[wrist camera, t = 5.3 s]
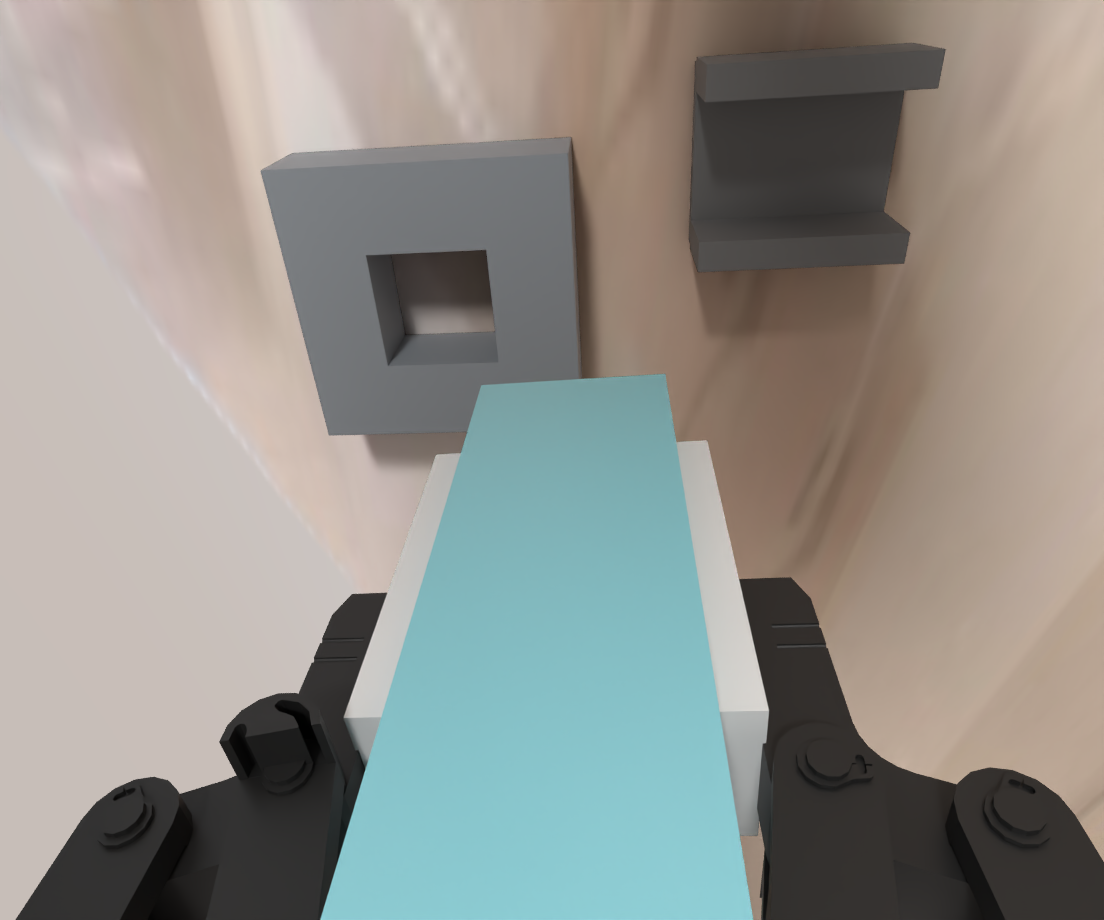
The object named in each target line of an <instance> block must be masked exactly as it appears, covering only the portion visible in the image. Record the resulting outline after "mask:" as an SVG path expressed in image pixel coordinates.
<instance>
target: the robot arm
mask: <svg viewBox="0 0 1104 920" xmlns="http://www.w3.org/2000/svg"><path fill="white" fill-rule="evenodd" d="M676 444H677V450H678V456H679V463H680V469H681V475H682V481H683V487H684V494H685V500H686V506H687V512H688V518H689V525H690V531H691V537H692V543H693V549H694V556H695V562H696V568H697V574H698V580H699V587H700V593H701V599H702V605H703V611H704V618H705V624H706V630H707V636H708V642H709V649H710V655H711V661H712V667H713V673H714V680H715V686H716V692H717V698H718V704H719V711H720V717H721V723H722V729H723V735H724V742H725V748H726V754H727V760H728V766H729V773H730V779H731V785H732V791H733V797H734V804H735V810H736V816H737V822H738V828H739V835H740V836H758V828H759V821H760V826H761V831H762V837H763V842H764V847H765V851H764V861H763V871H762V881H761V891H760V898H762V913H761V920H1104V862H1103V860H1102V858H1101V857H1100V855H1099V853H1098V852H1097V850H1096V849H1095V847H1094V845H1093V844H1092V842H1091V840H1090V839H1089V837H1088V835H1087V834H1086V832H1085V831H1084V829H1083V827H1082V826H1081V824H1080V822H1079V821H1078V819H1077V817H1076V816H1075V814H1074V813H1073V812H1072V811H1071V810H1070V808H1069V807H1068V806H1067V805H1066V804H1065V802H1064V801H1063V800H1062V799H1061V798H1060V797H1059V795H1057V794H1056V793H1054V792H1053V791H1052V790H1050V789H1049V788H1047V787H1046V786H1045V785H1043V784H1042V783H1040V782H1039V781H1038V780H1036V779H1033V778H1031V777H1028V776H1026V775H1023V774H1021V773H1018V772H1016V771H1013V770H1006V769H998V768H986V769H981V770H977V771H973V772H970V773H969V774H968V775H967V776H965V777H964V778H963V779H962V780H961V781H960V782H959V783H958V784H953V783H949V782H946V781H942V780H938V779H935V778H931V777H927V776H924V775H920V774H916V773H913V772H910V771H908V770H905V769H902V768H899V767H897V766H895V765H894V764H892V763H890V762H888V761H887V760H885V759H883V758H881V757H880V756H879V755H878V754H877V753H875V752H874V751H873V750H872V749H871V748H869V747H868V745H867V744H866V743H865V742H864V741H863V739H862V738H861V737H860V736H859V734H858V732H857V730H856V728H855V726H854V724H853V722H852V719H851V716H850V713H849V710H848V707H847V704H846V701H845V698H844V695H843V692H842V689H841V687H840V684H839V681H838V678H837V675H836V672H835V669H834V666H833V663H832V660H831V657H830V654H829V651H828V648H826V642H825V639H824V636H823V633H822V630H821V628H819V621H818V619H817V616H816V613H815V610H814V607H813V604H812V601H811V598H810V597H809V596H808V595H807V594H806V593H805V592H804V591H803V590H802V589H801V588H800V587H799V586H798V585H797V583H796V582H795V581H794V580H793V579H792V578H791V577H790V578H760V579H739V577H738V573H737V569H736V564H735V560H734V555H733V551H732V547H731V542H730V538H729V534H728V529H727V525H726V520H725V516H724V512H723V507H722V503H721V499H720V494H719V490H718V485H717V481H716V477H715V472H714V468H713V464H712V459H711V455H710V450H709V446H708V442H707V440H703V441H684V442H676ZM460 454H461V453H454V454H436V456H435V459H434V462H433V465H432V468H431V471H430V473H429V476H428V479H427V482H426V485H425V488H424V490H423V493H422V496H421V499H420V502H419V505H418V507H417V510H416V513H415V516H414V519H413V522H412V524H411V527H410V530H409V533H408V536H407V539H406V542H405V544H404V547H403V550H402V553H401V556H400V559H399V561H398V564H397V567H396V570H395V573H394V576H393V578H392V581H391V584H390V587H389V590H388V593H369V594H352V595H351V596H350V597H349V598H348V599H347V600H346V601H345V602H344V603H343V605H341V606H340V607H339V609H338V610H337V611H336V612H335V613H334V614H333V615H332V617H331V619H330V621H329V624H328V626H327V629H326V631H325V633H324V635H323V638H322V643H320V645H319V647H318V650H317V652H316V655H315V657H314V663H312V664H311V666H310V668H309V671H308V673H307V675H306V678H305V680H304V683H303V685H302V687H301V689H300V692H299V694H297V693H283V694H282V693H281V694H275V695H272V696H269V697H266V698H264V699H260V700H258V701H256V702H255V703H253V704H252V705H250V706H248V707H247V708H245V709H244V710H242V711H241V712H240V713H239V714H238V715H237V716H236V717H235V718H234V719H233V720H232V721H231V722H230V723H229V724H228V725H227V727H226V729H225V732H224V734H223V735H222V737H221V740H220V744H221V746H222V748H223V750H224V752H225V754H226V756H227V758H228V760H229V761H230V763H231V765H232V767H233V769H234V771H235V773H236V775H237V776H234V777H232V778H229V779H227V780H224V781H221V782H218V783H215V784H211V785H208V786H205V787H201V788H199V789H195V790H192V791H188V792H185V793H182V794H179V792H178V791H177V789H176V788H175V787H174V786H173V785H172V784H171V783H170V782H169V781H168V780H164V779H160V778H156V777H150V778H143V779H136V780H133V781H131V782H129V783H126V784H124V785H122V786H120V787H118V788H115V789H114V790H112V791H111V792H110V793H108V794H107V795H106V796H104V797H103V798H102V799H100V800H99V801H98V802H96V804H95V805H94V806H93V807H92V808H91V809H90V811H89V812H88V813H87V814H86V815H85V816H84V817H83V819H82V820H81V821H80V823H79V824H78V826H77V828H76V829H75V830H74V832H73V833H72V835H71V836H70V838H69V839H68V841H67V843H66V844H65V846H64V847H63V849H62V850H61V852H60V853H59V855H58V856H57V858H56V859H55V861H54V862H53V864H52V865H51V867H50V868H49V870H48V871H47V873H46V874H45V876H44V877H43V879H42V880H41V882H40V884H39V885H38V887H37V888H36V890H35V891H34V893H33V894H32V896H31V897H30V899H29V900H28V902H27V903H26V905H25V907H24V908H23V910H22V911H21V912H20V914H19V915H18V917H17V918H16V920H320V919H321V916H322V913H323V909H324V906H325V903H326V899H327V896H328V893H329V889H330V886H331V883H332V879H333V876H334V873H335V869H336V866H337V863H338V859H339V856H340V853H341V849H342V846H343V843H344V839H345V836H346V833H347V830H348V826H349V823H350V820H351V816H352V813H353V810H354V806H355V803H356V800H357V796H358V793H359V790H360V786H361V783H362V780H363V776H364V773H365V770H366V766H367V763H368V760H369V756H370V753H371V750H372V746H373V743H374V740H375V737H376V733H377V730H378V727H379V723H380V720H381V717H382V713H383V710H384V707H385V703H386V700H387V697H388V693H389V690H390V687H391V683H392V680H393V677H394V673H395V670H396V667H397V663H398V660H399V657H400V654H401V650H402V647H403V644H404V640H405V637H406V634H407V630H408V627H409V624H410V620H411V617H412V614H413V610H414V607H415V604H416V600H417V597H418V594H419V590H420V587H421V584H422V580H423V577H424V574H425V570H426V567H427V564H428V561H429V557H430V554H431V551H432V547H433V544H434V541H435V537H436V534H437V531H438V527H439V524H440V521H441V517H442V514H443V511H444V507H445V504H446V501H447V497H448V494H449V491H450V487H451V484H452V481H453V477H454V474H455V471H456V468H457V464H458V461H459V458H460Z"/></svg>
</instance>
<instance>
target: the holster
mask: <svg viewBox="0 0 1104 920" xmlns="http://www.w3.org/2000/svg"><path fill="white" fill-rule="evenodd" d="M945 50H946V49H942V48H937V47H932V46H927V45H921V44H916V43H903V44H888V45H872V46H857V47H842V48H826V49H811V50H796V51H781V52H765V53H750V54H735V55H719V56H704V57H697V61H695V82H694V110H693V138H692V166H691V194H690V222H689V242H690V250H691V253H692V256H693V259H694V262H695V265H696V268H697V271H698V272H715V271H739V270H763V269H786V268H810V267H834V266H857V265H881V264H904V262H905V257H906V251H907V246H908V241H909V236H910V232H909V231H907V230H906V229H905V228H904V227H902V226H901V225H900V224H899V223H897V222H896V221H895V220H894V219H892V218H891V217H890V216H889V215H887V214H886V213H885V212H884V206H885V200H886V195H887V189H888V183H889V177H890V171H891V166H892V160H893V154H894V148H895V142H896V137H897V131H898V125H899V119H900V113H901V107H902V102H903V96H904V90H919V89H935V88H938V86H939V81H940V76H941V71H942V65H943V60H944V55H945Z"/></svg>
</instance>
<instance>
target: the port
mask: <svg viewBox="0 0 1104 920" xmlns="http://www.w3.org/2000/svg"><path fill="white" fill-rule="evenodd" d="M261 174H262V178H263V182H264V186H265V190H266V194H267V197H268V201H269V205H270V209H271V213H272V217H273V221H274V224H275V228H276V232H277V236H278V240H279V244H280V248H281V252H282V255H283V259H284V263H285V267H286V271H287V275H288V279H289V282H290V286H291V290H292V294H293V298H294V302H295V306H296V310H297V313H298V317H299V321H300V325H301V329H302V333H303V337H304V340H305V344H306V348H307V352H308V356H309V360H310V364H311V368H312V371H313V375H314V379H315V383H316V387H317V391H318V395H319V399H320V402H321V406H322V410H323V414H324V418H325V422H326V426H327V429H328V433H329V435H365V434H404V433H444V432H467V431H468V428H469V424H470V421H471V418H472V414H473V411H474V408H475V404H476V401H477V398H478V394H479V391H480V388H481V385H491V384H507V383H524V382H540V381H556V380H573V379H582V365H581V343H580V321H579V299H578V277H577V255H576V233H575V210H574V188H573V166H572V144H571V137H566V138H549V139H531V140H514V141H497V142H479V143H462V144H444V145H427V146H410V147H392V148H375V149H358V150H340V151H323V152H305V153H292V154H290V155H288V156H286V157H284V158H282V159H281V160H279V161H277V162H275V163H273V164H271V165H270V166H268V167H266V168H264V169H262V170H261ZM472 250H486V253H487V262H488V271H489V280H490V289H491V298H492V307H493V316H494V325H495V332H474V333H447V334H420V335H405V331H404V326H403V320H402V315H401V309H400V303H399V298H398V292H397V287H396V281H395V276H394V270H393V265H392V259H391V254H406V253H428V252H450V251H472Z"/></svg>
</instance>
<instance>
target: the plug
mask: <svg viewBox="0 0 1104 920" xmlns="http://www.w3.org/2000/svg"><path fill="white" fill-rule="evenodd" d="M320 920H753V915H752V909H751V903H750V897H749V890H748V884H747V878H746V872H745V866H744V859H743V853H742V847H741V841H740V835H739V828H738V822H737V816H736V810H735V804H734V797H733V791H732V785H731V779H730V773H729V766H728V760H727V754H726V748H725V742H724V735H723V729H722V723H721V717H720V711H719V704H718V698H717V692H716V686H715V680H714V673H713V667H712V661H711V655H710V649H709V642H708V636H707V630H706V624H705V618H704V611H703V605H702V599H701V593H700V587H699V580H698V574H697V568H696V562H695V556H694V549H693V543H692V537H691V531H690V525H689V518H688V512H687V506H686V500H685V494H684V487H683V481H682V475H681V469H680V463H679V456H678V450H677V444H676V438H675V432H674V425H673V419H672V413H671V407H670V401H669V394H668V388H667V382H666V376H665V374H654V375H638V376H622V377H605V378H589V379H573V380H556V381H540V382H524V383H507V384H491V385H481V388H480V391H479V394H478V398H477V401H476V404H475V408H474V411H473V414H472V418H471V421H470V424H469V428H468V431H467V434H466V438H465V441H464V444H463V448H462V451H461V454H460V458H459V461H458V464H457V468H456V471H455V474H454V477H453V481H452V484H451V487H450V491H449V494H448V497H447V501H446V504H445V507H444V511H443V514H442V517H441V521H440V524H439V527H438V531H437V534H436V537H435V541H434V544H433V547H432V551H431V554H430V557H429V561H428V564H427V567H426V570H425V574H424V577H423V580H422V584H421V587H420V590H419V594H418V597H417V600H416V604H415V607H414V610H413V614H412V617H411V620H410V624H409V627H408V630H407V634H406V637H405V640H404V644H403V647H402V650H401V654H400V657H399V660H398V663H397V667H396V670H395V673H394V677H393V680H392V683H391V687H390V690H389V693H388V697H387V700H386V703H385V707H384V710H383V713H382V717H381V720H380V723H379V727H378V730H377V733H376V737H375V740H374V743H373V746H372V750H371V753H370V756H369V760H368V763H367V766H366V770H365V773H364V776H363V780H362V783H361V786H360V790H359V793H358V796H357V800H356V803H355V806H354V810H353V813H352V816H351V820H350V823H349V826H348V830H347V833H346V836H345V839H344V843H343V846H342V849H341V853H340V856H339V859H338V863H337V866H336V869H335V873H334V876H333V879H332V883H331V886H330V889H329V893H328V896H327V899H326V903H325V906H324V909H323V913H322V916H321V919H320Z"/></svg>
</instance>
